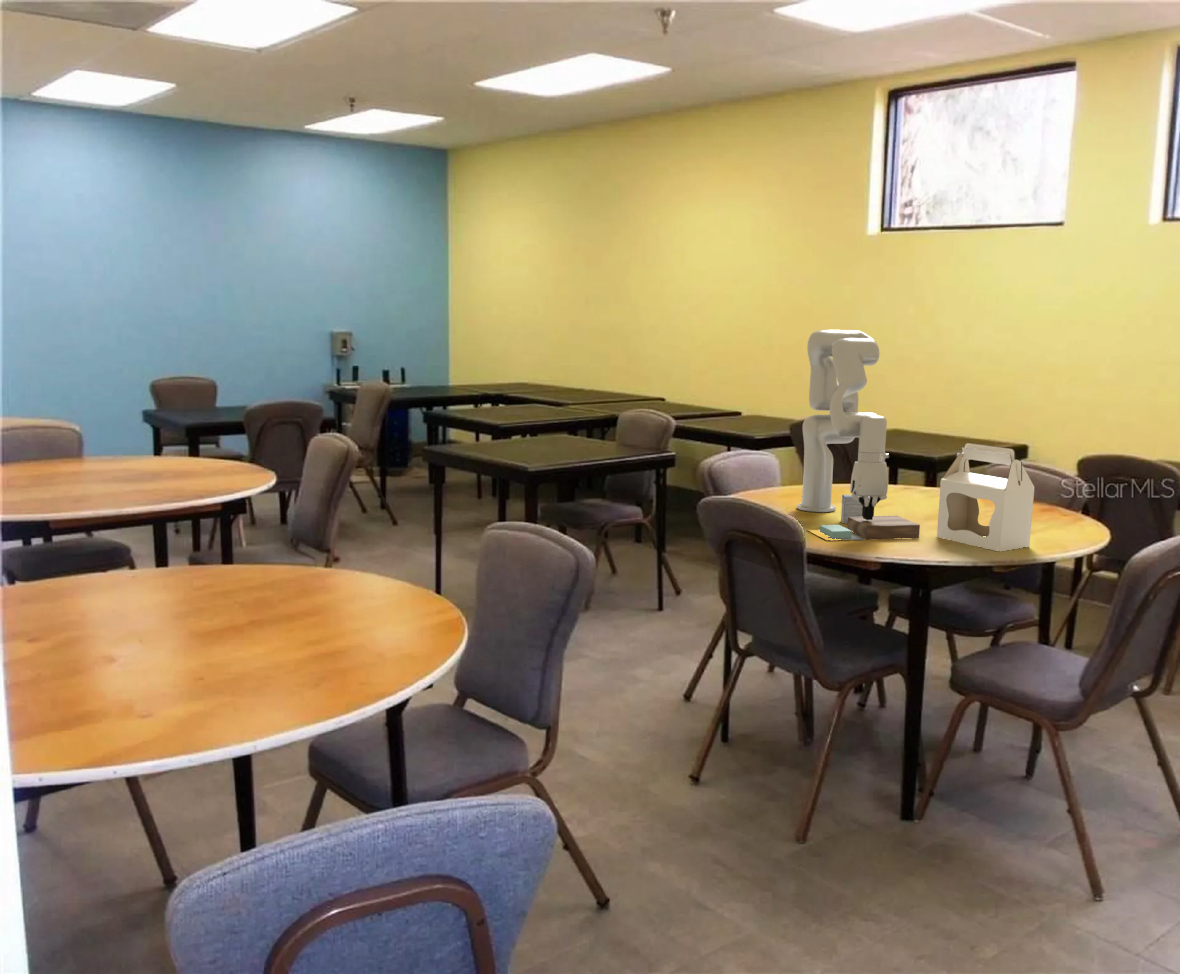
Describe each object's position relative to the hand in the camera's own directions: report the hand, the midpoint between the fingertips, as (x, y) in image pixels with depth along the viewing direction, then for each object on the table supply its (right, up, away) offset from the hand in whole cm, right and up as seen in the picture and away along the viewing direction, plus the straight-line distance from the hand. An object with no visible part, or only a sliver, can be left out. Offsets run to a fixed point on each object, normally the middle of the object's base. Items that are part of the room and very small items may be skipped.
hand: (867, 518), depth 303 cm
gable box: (+31, -7, -7) cm, 33 cm away
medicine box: (+1, -2, +18) cm, 18 cm away
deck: (+5, -5, +2) cm, 7 cm away
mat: (-10, -5, -1) cm, 11 cm away
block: (-10, -3, -2) cm, 10 cm away
